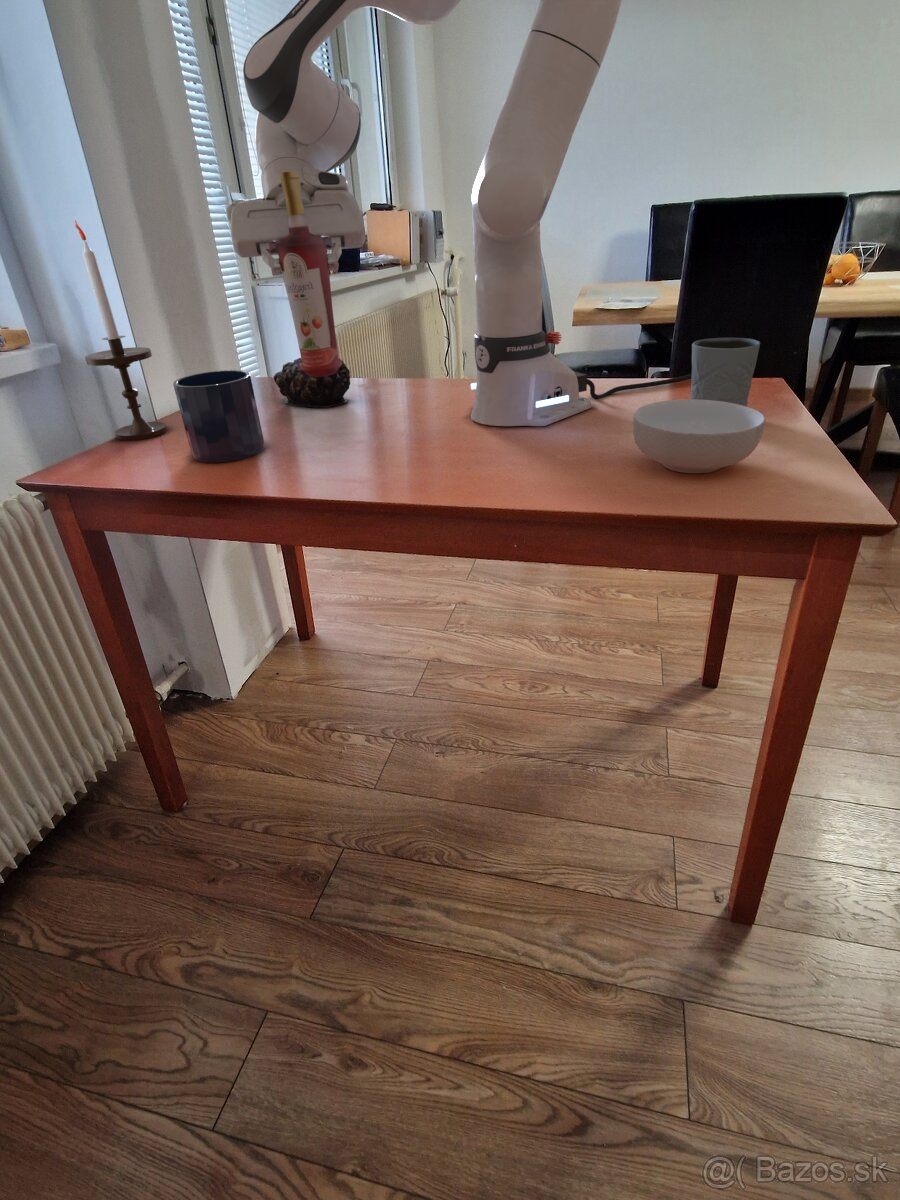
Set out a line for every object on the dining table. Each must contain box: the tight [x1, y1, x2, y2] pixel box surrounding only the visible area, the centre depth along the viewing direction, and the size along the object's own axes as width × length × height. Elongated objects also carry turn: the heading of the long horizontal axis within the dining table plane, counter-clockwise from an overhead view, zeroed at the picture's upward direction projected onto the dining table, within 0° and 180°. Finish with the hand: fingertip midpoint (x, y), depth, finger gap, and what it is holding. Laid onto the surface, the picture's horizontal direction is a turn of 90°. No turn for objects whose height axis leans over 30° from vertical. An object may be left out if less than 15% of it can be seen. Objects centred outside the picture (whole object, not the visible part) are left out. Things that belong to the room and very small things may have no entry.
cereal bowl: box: [632, 398, 766, 474], centre depth 91 cm, size 17×17×7 cm
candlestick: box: [74, 219, 168, 442], centre depth 117 cm, size 11×11×35 cm
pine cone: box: [273, 357, 351, 408], centre depth 135 cm, size 10×18×10 cm, turn 68°
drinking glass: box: [690, 337, 761, 407], centre depth 109 cm, size 10×10×12 cm
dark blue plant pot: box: [172, 369, 266, 464], centre depth 109 cm, size 12×12×12 cm
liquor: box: [277, 171, 342, 377], centre depth 102 cm, size 7×7×28 cm
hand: (305, 270), depth 101 cm, fingers closed on liquor, 7 cm apart
